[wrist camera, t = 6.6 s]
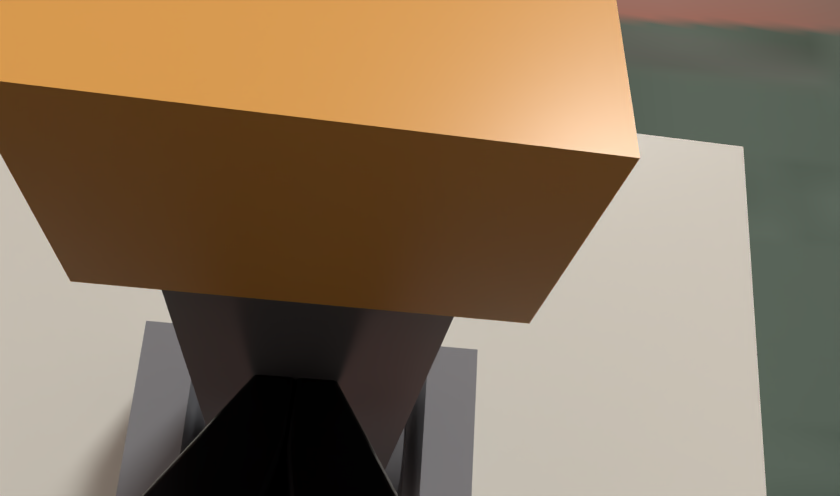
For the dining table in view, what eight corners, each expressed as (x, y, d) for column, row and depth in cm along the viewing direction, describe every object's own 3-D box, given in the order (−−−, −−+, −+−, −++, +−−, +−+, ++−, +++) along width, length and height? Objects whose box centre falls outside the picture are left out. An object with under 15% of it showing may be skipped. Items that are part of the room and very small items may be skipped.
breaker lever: (391, 528, 13) (639, 157, 4) (200, 517, 12) (-44, 75, 3) (398, 393, 14) (597, -134, 5) (223, 379, 14) (92, -216, 5)
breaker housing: (662, 780, 17) (904, 999, 10) (-166, 764, 15) (-579, 1022, 8) (647, 217, 21) (814, 93, 14) (-10, 144, 19) (-197, -42, 12)
